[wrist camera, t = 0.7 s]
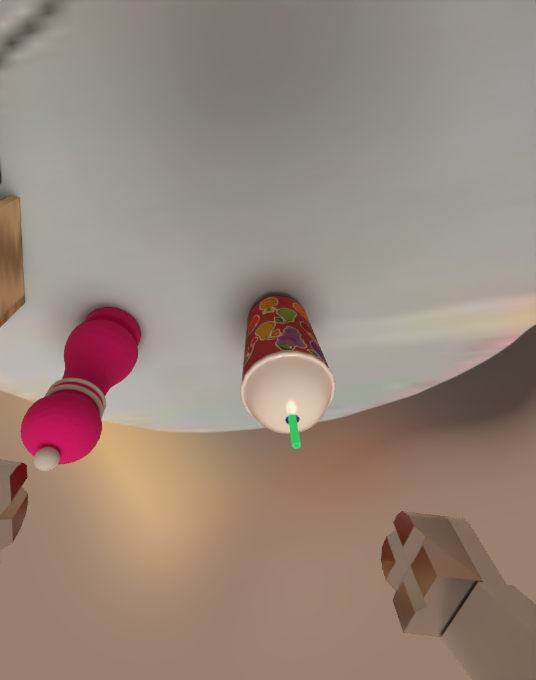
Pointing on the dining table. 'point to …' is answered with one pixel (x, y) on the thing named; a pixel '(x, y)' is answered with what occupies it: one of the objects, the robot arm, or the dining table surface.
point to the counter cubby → (10, 259)
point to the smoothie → (284, 369)
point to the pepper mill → (81, 389)
